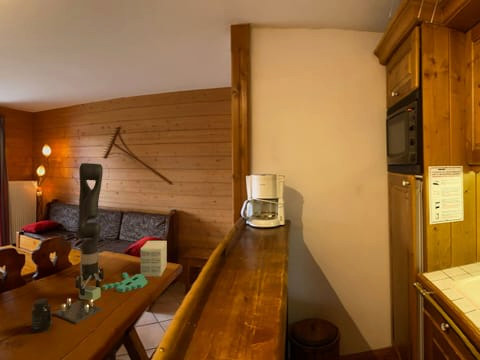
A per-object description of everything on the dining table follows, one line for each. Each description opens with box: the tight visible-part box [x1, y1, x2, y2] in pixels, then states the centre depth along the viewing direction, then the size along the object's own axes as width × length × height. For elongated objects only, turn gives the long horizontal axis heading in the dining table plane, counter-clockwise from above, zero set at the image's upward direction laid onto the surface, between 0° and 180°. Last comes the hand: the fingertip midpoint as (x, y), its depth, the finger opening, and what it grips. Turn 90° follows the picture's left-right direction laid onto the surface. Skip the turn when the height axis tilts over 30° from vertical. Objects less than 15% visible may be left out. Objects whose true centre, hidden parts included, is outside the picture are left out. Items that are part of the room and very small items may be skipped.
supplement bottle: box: [30, 297, 52, 334], centre depth 113 cm, size 7×7×12 cm
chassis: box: [53, 297, 102, 325], centre depth 125 cm, size 16×12×5 cm
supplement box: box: [140, 240, 168, 277], centre depth 175 cm, size 17×13×18 cm
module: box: [78, 284, 102, 302], centre depth 140 cm, size 9×5×5 cm, turn 73°
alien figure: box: [101, 272, 148, 293], centre depth 157 cm, size 20×2×20 cm
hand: (90, 291), depth 139 cm, fingers open, 8 cm apart
